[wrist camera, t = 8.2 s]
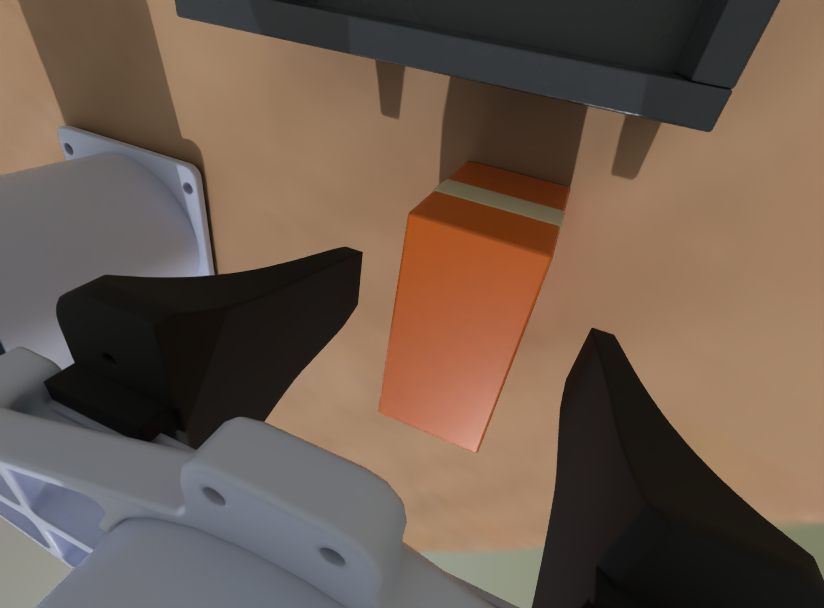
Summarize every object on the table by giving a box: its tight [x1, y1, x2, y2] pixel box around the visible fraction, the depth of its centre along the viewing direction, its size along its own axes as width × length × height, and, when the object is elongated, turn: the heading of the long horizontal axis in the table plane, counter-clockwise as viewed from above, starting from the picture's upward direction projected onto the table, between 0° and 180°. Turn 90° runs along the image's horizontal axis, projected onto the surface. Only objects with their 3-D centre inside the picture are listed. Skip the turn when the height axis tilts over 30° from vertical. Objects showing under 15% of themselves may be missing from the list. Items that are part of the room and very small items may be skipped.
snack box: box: [378, 161, 570, 453], centre depth 14 cm, size 7×3×5 cm, turn 172°
